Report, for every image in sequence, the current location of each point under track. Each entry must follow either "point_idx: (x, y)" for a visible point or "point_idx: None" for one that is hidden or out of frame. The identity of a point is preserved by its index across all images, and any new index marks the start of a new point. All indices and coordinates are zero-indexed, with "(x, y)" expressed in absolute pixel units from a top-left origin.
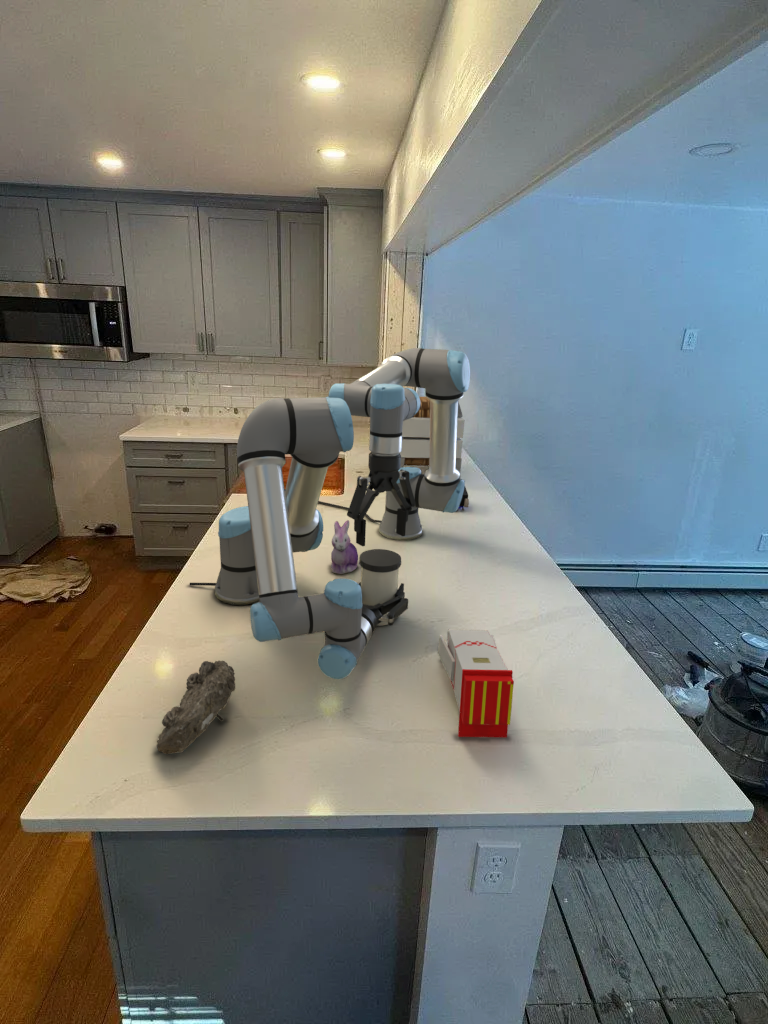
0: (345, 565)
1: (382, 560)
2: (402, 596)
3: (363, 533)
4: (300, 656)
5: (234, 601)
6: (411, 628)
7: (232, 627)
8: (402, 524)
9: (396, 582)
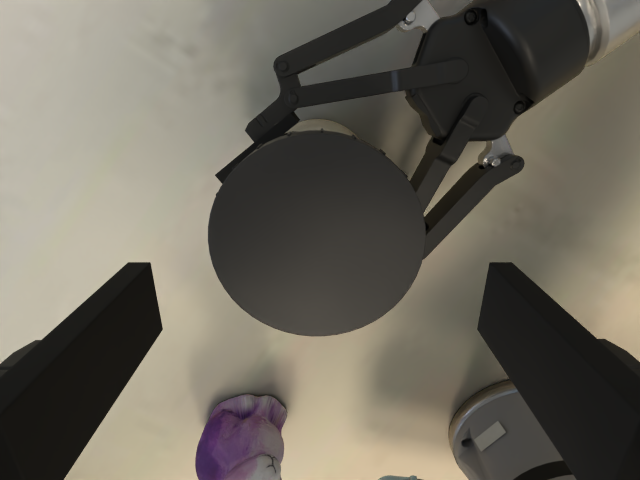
0: (255, 414)
1: (331, 211)
2: (272, 107)
3: (564, 317)
4: (616, 118)
5: None
6: (273, 57)
7: (635, 317)
8: (104, 325)
9: None
